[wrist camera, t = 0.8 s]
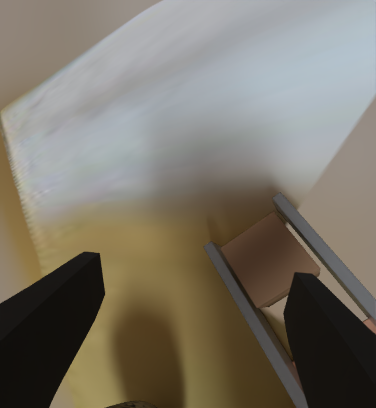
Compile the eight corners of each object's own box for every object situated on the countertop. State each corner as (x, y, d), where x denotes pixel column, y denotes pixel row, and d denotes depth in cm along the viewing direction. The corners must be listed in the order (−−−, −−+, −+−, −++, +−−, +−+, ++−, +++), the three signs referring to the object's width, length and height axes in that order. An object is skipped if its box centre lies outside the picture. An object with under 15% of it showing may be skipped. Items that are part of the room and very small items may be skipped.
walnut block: (319, 275, 19) (320, 268, 15) (269, 306, 20) (256, 308, 16) (281, 228, 22) (273, 211, 17) (238, 258, 22) (219, 248, 18)
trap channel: (432, 373, 15) (451, 385, 13) (319, 430, 16) (320, 449, 14) (283, 202, 22) (280, 192, 20) (213, 251, 23) (203, 246, 21)
